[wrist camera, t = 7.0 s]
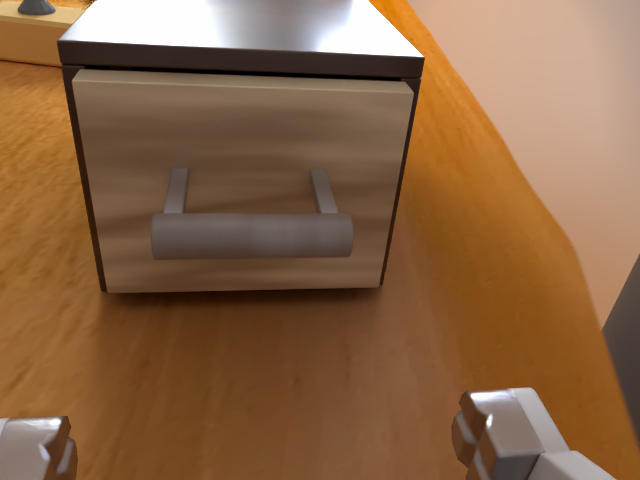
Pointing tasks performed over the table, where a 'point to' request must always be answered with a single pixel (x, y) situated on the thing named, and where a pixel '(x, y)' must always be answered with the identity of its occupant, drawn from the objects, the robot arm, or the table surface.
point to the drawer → (240, 176)
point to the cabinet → (237, 51)
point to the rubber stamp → (33, 30)
